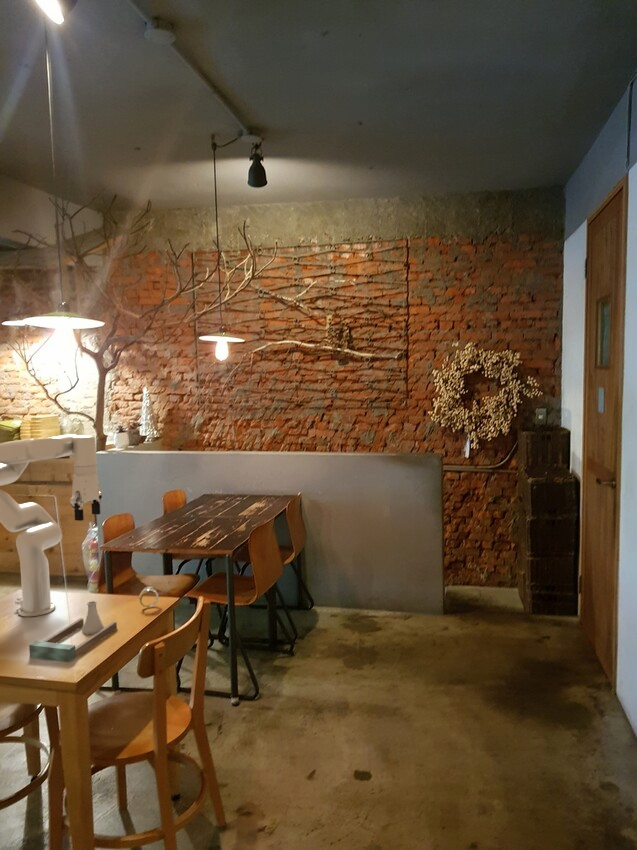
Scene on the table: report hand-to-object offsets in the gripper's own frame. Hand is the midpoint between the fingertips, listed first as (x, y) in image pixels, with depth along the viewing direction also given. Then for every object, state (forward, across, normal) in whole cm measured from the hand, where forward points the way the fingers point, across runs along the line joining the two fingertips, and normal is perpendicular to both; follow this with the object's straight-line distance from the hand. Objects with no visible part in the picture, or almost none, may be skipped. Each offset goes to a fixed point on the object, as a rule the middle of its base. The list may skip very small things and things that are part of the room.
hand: (87, 517), depth 216 cm
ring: (+37, -12, +16) cm, 42 cm away
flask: (+37, +11, +8) cm, 39 cm away
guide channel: (+37, +21, +8) cm, 43 cm away
